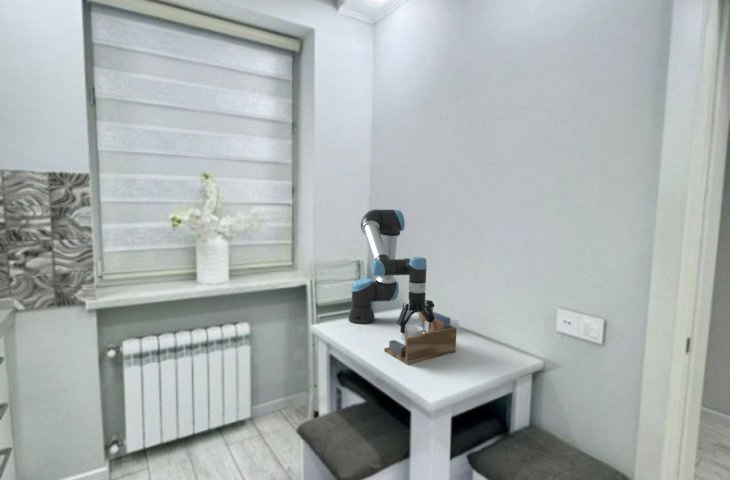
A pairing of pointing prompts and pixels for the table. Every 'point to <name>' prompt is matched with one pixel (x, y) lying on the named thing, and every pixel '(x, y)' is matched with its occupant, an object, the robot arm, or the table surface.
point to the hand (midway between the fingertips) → (415, 337)
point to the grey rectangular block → (397, 348)
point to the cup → (414, 331)
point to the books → (439, 322)
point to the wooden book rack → (428, 346)
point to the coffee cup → (421, 317)
